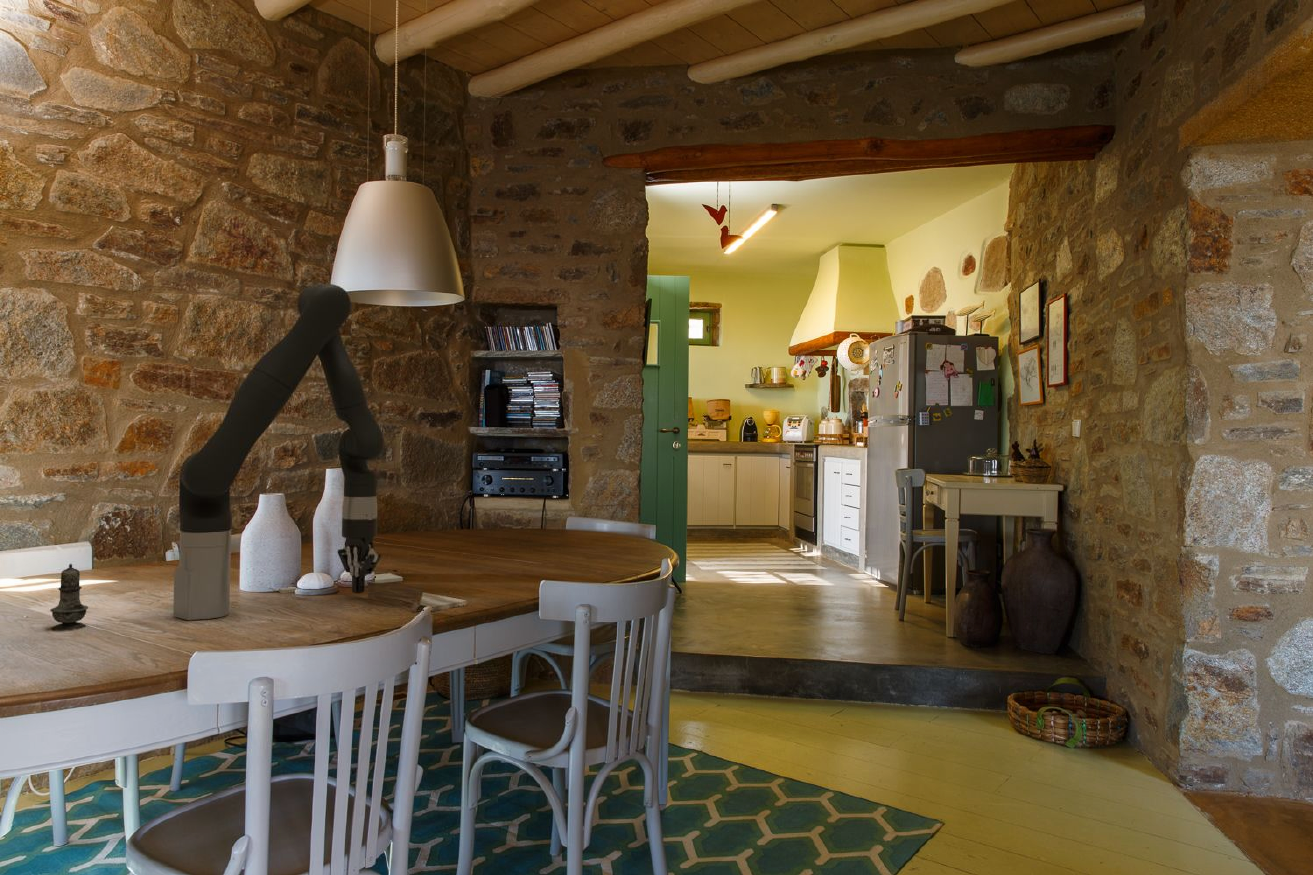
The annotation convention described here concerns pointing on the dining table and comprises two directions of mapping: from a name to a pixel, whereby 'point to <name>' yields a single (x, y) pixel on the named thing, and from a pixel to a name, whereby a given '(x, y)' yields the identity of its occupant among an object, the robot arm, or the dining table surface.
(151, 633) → the dining table surface
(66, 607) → the salt shaker
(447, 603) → the floor panel
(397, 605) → the driftwood piece
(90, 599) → the dining table surface
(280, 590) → the baseboard
